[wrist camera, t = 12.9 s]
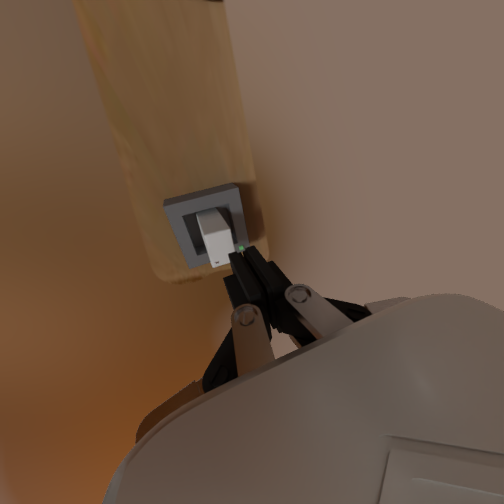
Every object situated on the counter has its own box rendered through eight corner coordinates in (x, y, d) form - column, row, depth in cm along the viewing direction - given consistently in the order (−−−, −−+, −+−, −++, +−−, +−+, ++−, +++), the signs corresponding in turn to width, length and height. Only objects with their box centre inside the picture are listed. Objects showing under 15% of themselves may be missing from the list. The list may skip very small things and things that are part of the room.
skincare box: (222, 233, 42) (237, 261, 32) (202, 238, 41) (212, 269, 31) (216, 205, 39) (231, 228, 29) (194, 210, 38) (202, 235, 28)
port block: (163, 199, 35) (162, 207, 31) (231, 182, 38) (238, 187, 34) (188, 258, 43) (189, 270, 39) (244, 240, 45) (251, 250, 41)
